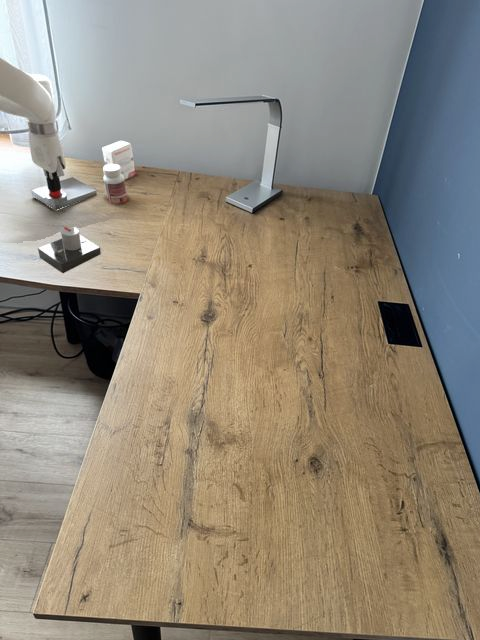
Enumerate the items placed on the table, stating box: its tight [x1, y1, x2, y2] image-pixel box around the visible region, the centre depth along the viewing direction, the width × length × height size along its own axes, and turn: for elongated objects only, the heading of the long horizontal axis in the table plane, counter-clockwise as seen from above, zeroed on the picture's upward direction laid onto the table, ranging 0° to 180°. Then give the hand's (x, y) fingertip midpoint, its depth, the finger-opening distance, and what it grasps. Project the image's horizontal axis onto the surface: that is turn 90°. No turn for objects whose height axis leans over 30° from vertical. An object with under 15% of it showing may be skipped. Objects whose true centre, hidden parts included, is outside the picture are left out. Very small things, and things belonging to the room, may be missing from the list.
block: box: [30, 176, 98, 211], centre depth 156 cm, size 16×13×4 cm
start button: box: [49, 190, 61, 198], centre depth 150 cm, size 3×3×2 cm
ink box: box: [101, 140, 136, 181], centre depth 166 cm, size 9×5×12 cm, turn 145°
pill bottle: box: [102, 164, 128, 205], centre depth 155 cm, size 6×6×11 cm
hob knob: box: [60, 226, 81, 251], centre depth 131 cm, size 4×4×5 cm
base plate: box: [37, 234, 102, 274], centre depth 133 cm, size 12×10×3 cm
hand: (54, 189), depth 149 cm, fingers closed
